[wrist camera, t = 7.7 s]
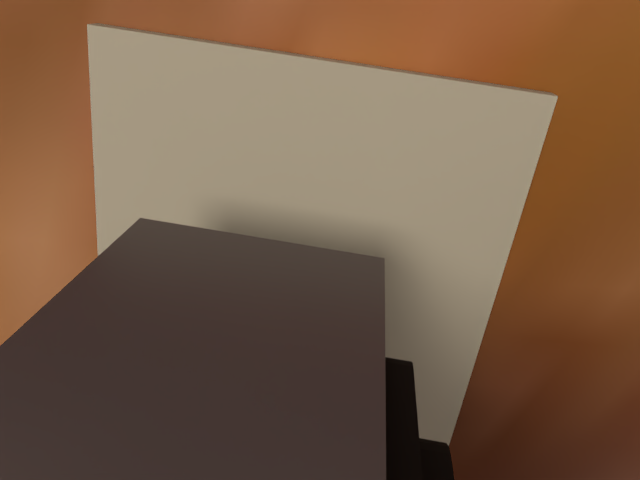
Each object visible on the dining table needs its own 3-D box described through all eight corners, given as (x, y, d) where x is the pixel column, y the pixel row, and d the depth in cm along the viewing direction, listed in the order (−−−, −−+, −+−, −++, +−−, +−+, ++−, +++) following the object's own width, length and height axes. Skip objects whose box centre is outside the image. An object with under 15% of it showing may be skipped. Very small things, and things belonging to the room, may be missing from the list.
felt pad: (552, 92, 13) (558, 96, 12) (444, 442, 17) (446, 454, 17) (97, 23, 13) (87, 24, 13) (111, 379, 18) (104, 389, 17)
